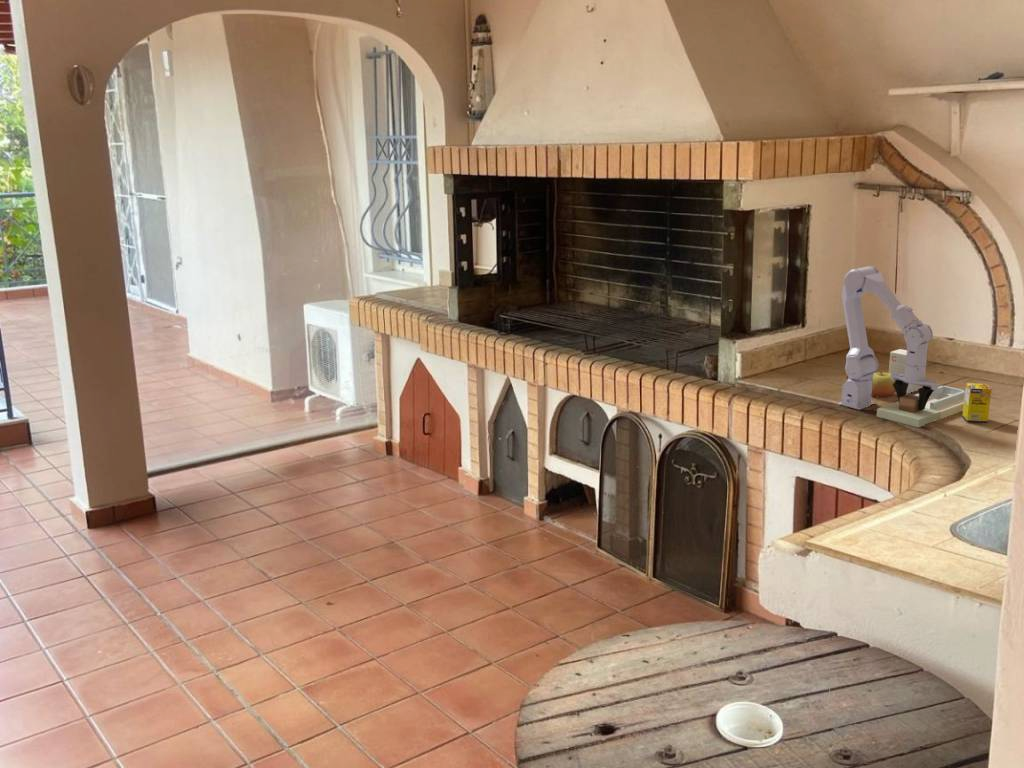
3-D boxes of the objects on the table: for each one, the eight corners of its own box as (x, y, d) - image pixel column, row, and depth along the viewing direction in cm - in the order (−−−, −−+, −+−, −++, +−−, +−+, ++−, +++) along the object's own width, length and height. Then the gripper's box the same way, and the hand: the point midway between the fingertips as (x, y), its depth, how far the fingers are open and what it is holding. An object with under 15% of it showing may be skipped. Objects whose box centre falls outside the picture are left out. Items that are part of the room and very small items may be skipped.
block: (913, 413, 293) (914, 400, 292) (898, 409, 297) (899, 397, 296) (922, 410, 296) (924, 397, 295) (907, 406, 300) (909, 394, 299)
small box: (918, 390, 324) (922, 352, 321) (909, 394, 321) (912, 356, 317) (896, 385, 331) (899, 348, 327) (886, 389, 327) (889, 351, 323)
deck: (918, 427, 288) (919, 413, 287) (876, 416, 299) (877, 402, 298) (974, 406, 306) (976, 392, 305) (933, 396, 317) (934, 383, 316)
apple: (868, 389, 327) (870, 366, 324) (899, 393, 322) (901, 370, 319) (862, 397, 318) (864, 373, 316) (893, 401, 314) (896, 377, 311)
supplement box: (987, 423, 290) (992, 389, 287) (966, 423, 291) (970, 388, 288) (982, 417, 295) (986, 383, 292) (961, 417, 297) (965, 382, 294)
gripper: (945, 366, 290) (940, 409, 293) (901, 357, 301) (897, 399, 305) (932, 370, 286) (928, 414, 289) (888, 361, 297) (884, 403, 300)
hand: (911, 407), depth 297 cm, fingers open, 6 cm apart
